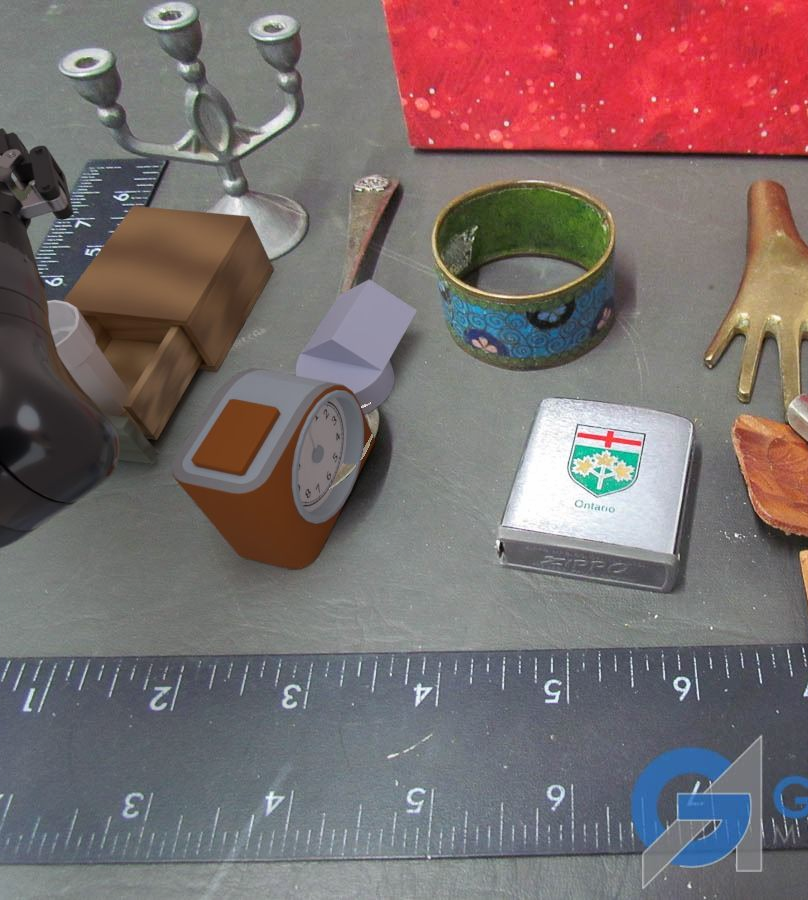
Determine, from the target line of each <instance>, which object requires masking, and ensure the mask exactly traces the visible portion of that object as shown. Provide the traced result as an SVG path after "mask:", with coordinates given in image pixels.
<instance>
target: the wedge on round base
mask: <svg viewBox="0 0 808 900" xmlns="http://www.w3.org/2000/svg"><path fill="white" fill-rule="evenodd" d="M417 312H418V310H417V309H415V308H414V307H412V306H411V305H410V304H409V303H406V302H405V301H404V300H402V299H400V298H399V297H397V296H396V295H394V294H392V293H391V292H390V291H388V290H386V289H385V288H384V287H382V286H380V285H379V284H377V283H376V282H374V281H373V280H372V279H370V278H369V279H367V280H365V281H363V282H361V283H359V284H358V285H356V286H354V287H352V288H350V289H348V290H346V291H344V292H342V293H341V294H338V296H337V298H336V299H335V300H334V302H333V303H332V305H331V307H330V308H329V309H328V311H327V313H326V314H325V316H324V317H323V318H322V320H321V322H320V324H319V325H318V327H317V328H316V330H315V331H314V333H313V334H312V335H311V338H310V339H309V340H308V343H307V344H305V347H304V348H303V350H302V351H301V353H300V354H299V356H298V358H297V361H296V364H295V376H300V377H305V378H311V379H316V380H321V381H326V382H332V383H337V384H342V385H344V386H346V387H347V388H348V389H350V390H351V391H353V393H354V395H355V396H356V398H357V400H358V401H359V404H360V406H362V405H364V404H368V403H370V402H371V404H370V405H368V406H366V407H364V408H362V411H363V413H364V415H366V414H368V413H371V412H372V411H374V410H375V409H377V408H378V407H380V406H381V405H382V404H383V403H384V402H385V401H386V400H387V399H388V398H389V396H390V394H391V393H392V391H393V390H394V386H395V381H396V380H395V379H396V378H395V371H394V368H393V365H392V362H391V360H390V359H391V358H392V356H393V354H394V352H395V350H396V349H397V347H398V345H399V344H400V342H401V340H402V338H403V336H404V335H405V333H406V331H407V330H408V328H409V326H410V324H411V322H412V321H413V319H414V317H415V315H416V313H417Z"/></svg>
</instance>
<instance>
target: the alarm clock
mask: <svg viewBox="0 0 808 900" xmlns="http://www.w3.org/2000/svg"><path fill="white" fill-rule="evenodd" d="M365 415H366V414H364V413H363V411H362V408H361V406H360V404H359V401H358V400H357V398H356V396H355V395H354V393H353V391H351V390H350V389H348V388H347V387H346V386H344V385H342V384H337V383H332V382H326V381H321V380H316V379H311V378H305V377H300V376H296V374H295V375H294V374H291V373H290V374H289V373H284V372H278V371H274V370H269V369H262V368H254V367H253V368H248V369H245V370H242V371H238V372H237V373H236V374H235V375H233V376H232V377H230V378H229V379H228V380H227V381H225V383H224V384H223V385H222V387H221V388H220V389H218V391H217V392H216V394H215V395H214V397H213V398H212V400H211V401H210V403H209V404H208V406H207V407H206V409H205V410H204V412H203V413H202V415H201V416H200V418H199V420H198V421H197V423H196V424H195V426H194V427H193V429H192V431H191V432H190V433H189V434H188V436H187V438H186V439H185V441H184V442H183V443H182V446H181V447H180V449H179V450H178V452H177V453H176V455H175V457H174V458H173V460H172V462H171V463H172V464H171V473H172V476H173V478H174V479H175V481H176V482H177V483H178V484H179V486H180V487H181V488H182V489H183V490H184V492H185V493H186V494H187V496H189V498H190V499H191V500H192V502H194V504H195V505H196V506H197V508H198V509H199V510H200V511H201V512H202V513H203V514H204V516H205V517H206V518H207V520H209V522H210V523H211V525H212V526H214V528H215V529H216V530H217V531H218V533H219V534H220V535H221V536H222V537H223V538H224V539H225V541H226V542H227V543H228V545H229V546H230V547H231V548H232V549H233V550H234V551H235V553H236V555H238V556H240V558H243V559H246V560H249V561H254V562H257V563H263V564H265V565H266V564H267V565H271V566H276V567H280V568H284V569H288V570H298V569H303V568H305V567H308V566H309V565H310V564H312V563H313V562H314V561H316V560H317V558H318V557H319V555H320V553H321V552H322V549H323V547H324V546H325V544H326V542H327V539H328V538H329V535H330V534H331V531H332V529H333V528H334V526H335V523H336V522H337V519H338V517H339V515H340V513H341V512H342V510H343V507H344V505H345V504H346V501H347V500H348V497H350V494H351V493H352V491H353V487H354V486H355V483H356V481H357V479H358V478H359V475H360V473H361V471H362V469H363V467H364V465H365V463H366V462H367V459H368V458H369V455H370V452H371V451H372V449H373V447H374V445H375V443H376V439H375V437H374V435H373V438H372V440H371V442H370V446H369V448H368V450H367V452H366V454H365V456H364V457H363V459H362V460H360V459H361V457H362V453H363V448H364V447H365V445H366V443H367V442H368V440H369V438H370V436H371V434H373V432H372V429H371V426H370V425H369V423H368V420H367V418H366V416H365ZM343 463H344V464H346V463H347V464H349V465H350V464H353V463H354V465H355V464H356V467H355V468H354V470H353V471H352V472H351V473H350V475H349V476H348V477H347V478H345V479H344V480H343V481H342V482H341V483H339V484H338V485H336V486H335V487H333V488H330V486H331V485H332V483H333V481H334V479H335V478H336V476H337V473H338V472H339V470H340V468H341V466H342V464H343ZM357 463H358V464H357ZM347 464H346V465H347ZM329 488H330V489H329Z"/></svg>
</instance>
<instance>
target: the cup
mask: <svg viewBox="0 0 808 900" xmlns="http://www.w3.org/2000/svg"><path fill="white" fill-rule="evenodd" d="M47 303H48V313H49V325H50V329H51V332H52V336H53V339H54V342H55V346H56V348H57V352H58V356H59V357H60V359H61V361H62V362H63V364H64V365H65V367H66V368H67V369H68V371H69V372H70V374H71V375H72V376H73V378H74V379H75V380H76V382H77V383H78V384H79V386H80V387H81V388H82V389H83V391H84V392H85V393H86V394H87V395H88V396H89V397H90V398H91V399H92V400H93V401H94V402H95V403H96V404H97V405H98V407H99V408H100V409H101V410H102V411H103V412H104V413H105V414H106V415H110V416H118V417H119V416H120V415H122V414H124V413H125V412H126V409H125V408H124V407H123V404H124V402H125V401H126V399H127V398H128V396H129V394H130V392H129V391H128V390H127V388H126V387H125V385H124V384H123V382H122V381H121V379H120V378H119V376H118V375H117V374H116V372H115V371H114V369H113V368H112V366H111V365H110V363H109V362H108V360H107V359H106V357H105V356H104V354H103V353H102V352H101V350H100V349H99V347H98V346H97V344H96V340H95V337H94V333H93V331H92V329H91V328H90V326H89V325H88V323H87V322H86V321H85V319H84V318H83V316H82V315H81V313H80V312H79V310H78V309H77V308H76V307H75V306H73V305H71V304H70V303H68V302H64V301H63V300H60V299H59V300H57V299H51V300H47Z"/></svg>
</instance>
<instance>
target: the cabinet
mask: <svg viewBox="0 0 808 900" xmlns="http://www.w3.org/2000/svg"><path fill="white" fill-rule="evenodd" d="M255 227H256V226H254V223H253V220H252V219H251V217H250V216H249V215H241V214H240V215H239V214H228V213H218V212H206V211H197V210H196V211H194V210H185V209H183V210H182V209H174V208H162V207H161V208H160V207H150V206H139V205H133V206H131V208H130V210H129V211H128V212H127V213H126V214H125V216H124V217H123V219H122V220H121V221H120V223H119V224H118V226H117V227H116V228H115V229H114V231H113V233H112V234H111V235H110V236H109V238H108V239H107V241H106V242H105V243H104V244H103V246H102V247H101V248H100V250H99V252H98V253H97V254H96V255H95V257H94V258H93V259H92V261H91V262H90V263H89V265H88V267H86V269H85V270H84V272H83V273H82V274H81V276H80V277H79V278H78V280H77V281H76V283H75V284H74V285H73V287H71V289H70V291H69V292H68V294H67V295H66V296H65V298H64V299H63V300H62V301H64V302H68V303H70V304H71V305H73V306H75V307H76V308H77V309H78V310H79V312H80V313H81V315H87V316H96V317H106V318H115V319H125V320H134V321H143V322H153V323H162V324H171V325H181V326H183V328H184V329H185V331H186V333H187V334H188V336H189V337H190V339H191V340H192V342H193V344H194V345H195V347H196V348H197V350H198V351H199V353H200V354H201V356H202V358H203V360H202V362H201V363H200V365H199V367H198V369H197V370H200V371H201V370H202V371H212V372H218V371H219V370H220V367H221V366H222V365H223V362H224V360H225V359H226V357H227V356H228V353H229V351H230V350H231V348H232V346H233V344H234V342H235V340H236V338H237V337H238V335H239V333H240V331H241V330H242V328H243V326H244V324H245V322H246V321H247V318H248V317H249V315H250V313H251V312H252V309H254V306H255V304H256V302H257V300H258V299H259V298H260V295H261V294H262V291H263V290H264V288H265V286H266V285H267V282H268V281H269V279H270V277H271V275H272V274H273V271H274V270H275V268H274V266H273V264H272V262H271V260H270V258H269V256H268V253H267V251H266V248H265V247H264V245H263V242H262V241H261V238H260V236H259V233H258V232H257V229H256V228H255Z"/></svg>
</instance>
